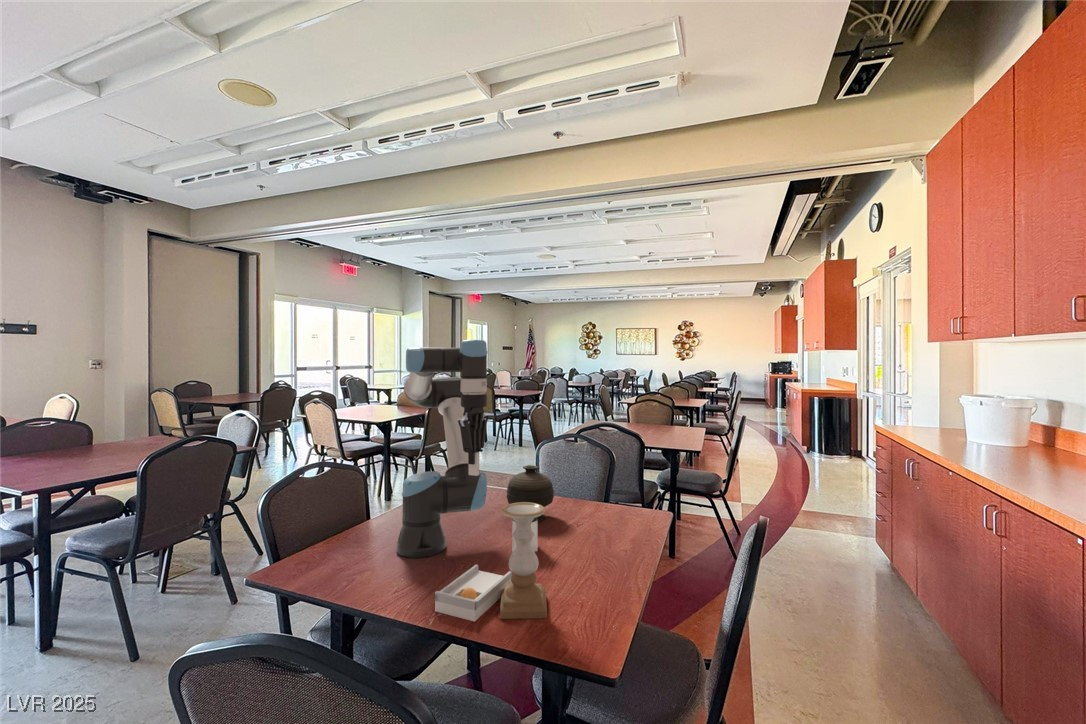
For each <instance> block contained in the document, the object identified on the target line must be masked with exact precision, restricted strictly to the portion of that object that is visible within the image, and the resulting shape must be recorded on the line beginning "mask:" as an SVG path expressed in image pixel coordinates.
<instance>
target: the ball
mask: <svg viewBox="0 0 1086 724" xmlns="http://www.w3.org/2000/svg"><path fill="white" fill-rule="evenodd" d="M461 597H465V598H469V599H473V600H475V599H476V598H477V593H476V591H475V590H474V589H473V588H466V589H464V590H463V591H462V593H461Z"/></svg>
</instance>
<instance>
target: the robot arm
mask: <svg viewBox="0 0 1086 724" xmlns="http://www.w3.org/2000/svg"><path fill="white" fill-rule="evenodd" d="M487 345H488V344H487V342H486V340H483V339H464V340H462V341H461V342H460V347H437V346H436V347H433V346H432V347H431V346H430V347H423V346H417V347H407V349H406V351H405V369H406V371H407V372H408V373H409V374H408V375H409V376H408V378H407V379H406V380H405V382H404V386H403V392H404V395H405V397H406V399H408V401H410V402H411V403H412V404H414V405H416V406H418V407H420V408H421V407H422V408H425V409H432V408H433V409H435V408H436V409H437V410H438V413H439V414H440V415H441V416H442V418H443V419H442V420H443V427H444V428H443V429H444V436H445V444H446V445H445V446H446V453H447V465H448V468H447V469H446V470H445V471H444V475H441V474H440V472H439V471H435V470H433V471H430V470H428V471H423V472H419V473H418V472H417V473H414V474H412V475H409V476H408V477H406V478H405V479H404V480H403V482H402V492H401V497H402V514H401V515H402V526H401V529H400V531H399V534H398V539H397V542H396V553H397V554H398V555H399V556H401V557H405V558H414V559H415V558H418V559H419V558H428V557H432V556H435V555H437V554H439V553H442V552H443V551H444V550H445V549H446V547H447V539H446V536H445V533H444V529H443V527H442V524H441V514H443V515H444V514H451V513H461V512H472V511H478V510H481V509H482V508H484V506H485V504H486V499H487V491H488V488H487V487H488V485H487V484H488V480H487V479H488V478H487V474H486V473H485V472H483V471H482V472H481V471H480V470H481V469H480V453H483V452H484V448H485V442H486V441H485V440H486V432H487V426H488V425H487V424H488V421H489V416H490V415H488V414H485V411H484V408H485V407H487V406H488V396H487V395H488V394H487V392H488V391H487V389H488V387H487V385H488V379H487V378H488V377H487V376H488V375H487V374H488V373H487V372H488V368H487V367H488V365H487V364H488V348H487ZM435 373H460V376H457V375H456V376H453V377H452V376H451V377H450V376H449V377H448V376H447V377H445V376H441V377H440V376H436V377H435V376H434V375H435Z"/></svg>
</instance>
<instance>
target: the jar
mask: <svg viewBox="0 0 1086 724" xmlns="http://www.w3.org/2000/svg"><path fill="white" fill-rule="evenodd" d="M537 519H538V517H536V518H534V520H533V521H532V522H531V529H532V531H533V532H534V537H533V538H532V540H531V543H530V545H531V547H532V549H533V551H534V553H536V552H538V538H539V537H538V535H539V534H538V533H539V532H538V522H537ZM511 521H512V524H511V525H512V526H511V528H512V529H511V531H512V532H511V535H512V536H511V539H512V542H511V544H512V545H511V548H512V549H511V550H512V551H511V552H512V553H513V552H514V550H515V548H516V545H517V542H516V540H515V538H514V537H513V533H514V532H515V530H516V523H515V521H514V520H513V518H511Z"/></svg>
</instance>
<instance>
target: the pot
mask: <svg viewBox="0 0 1086 724" xmlns="http://www.w3.org/2000/svg"><path fill="white" fill-rule="evenodd" d="M522 468H523V469H524V470H525V471H522V472H519V473H517V474H515V475H514V476H513V477H511V478H510V480H509V482H508V483H507V488H506V489H507V490H506V500H507V503H508V504H512V503H518V502H531V503H537V504H540V505H542V506H543V507H544V508H545V507H547V506H549V505H551V504H552V503H553V502H554V501H553V500H554V497H555V495H554V493H555V490H554V487H553V483H552V481H551V479H550V478H549V477H548V476H547V475H546V474H544V473H542V472H538V471H537V470H539V466H538V465H532V464H528V465H523V466H522ZM544 519H545V515H544V513H543V514H542V515H541V516H539V517H538V519H537V522H541V521H543V520H544Z"/></svg>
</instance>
